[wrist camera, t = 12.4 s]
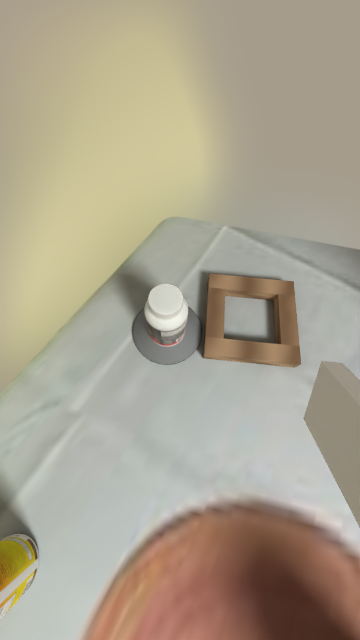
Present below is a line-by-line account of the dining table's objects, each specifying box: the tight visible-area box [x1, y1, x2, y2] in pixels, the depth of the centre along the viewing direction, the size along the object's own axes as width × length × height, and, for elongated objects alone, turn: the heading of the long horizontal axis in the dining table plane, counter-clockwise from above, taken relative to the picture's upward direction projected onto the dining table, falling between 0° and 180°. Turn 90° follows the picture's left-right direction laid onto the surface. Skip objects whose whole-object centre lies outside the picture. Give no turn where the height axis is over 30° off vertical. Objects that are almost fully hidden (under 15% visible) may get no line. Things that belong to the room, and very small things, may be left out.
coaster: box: [133, 307, 201, 365], centre depth 38 cm, size 10×10×1 cm
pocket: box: [203, 274, 301, 367], centre depth 39 cm, size 13×13×2 cm
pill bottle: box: [144, 284, 188, 347], centre depth 34 cm, size 5×5×10 cm
